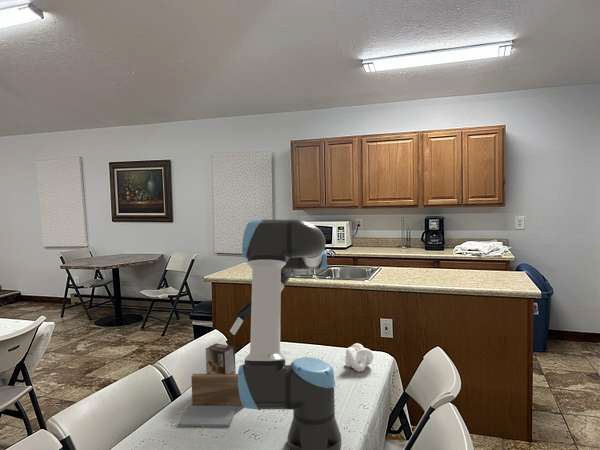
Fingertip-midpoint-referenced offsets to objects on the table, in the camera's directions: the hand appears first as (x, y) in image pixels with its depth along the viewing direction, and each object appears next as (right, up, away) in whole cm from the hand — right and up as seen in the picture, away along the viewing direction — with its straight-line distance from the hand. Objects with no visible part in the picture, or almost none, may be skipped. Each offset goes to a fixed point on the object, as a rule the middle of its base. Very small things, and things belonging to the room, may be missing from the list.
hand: (243, 336), depth 158 cm
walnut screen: (-5, -18, -17) cm, 25 cm away
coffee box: (-7, -18, -7) cm, 20 cm away
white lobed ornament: (+45, -16, +11) cm, 49 cm away
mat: (-8, -19, -26) cm, 33 cm away
